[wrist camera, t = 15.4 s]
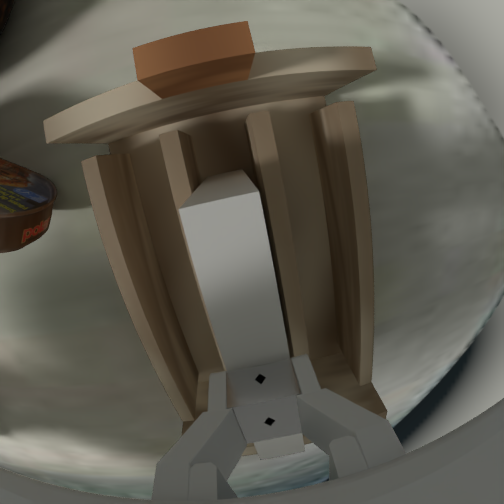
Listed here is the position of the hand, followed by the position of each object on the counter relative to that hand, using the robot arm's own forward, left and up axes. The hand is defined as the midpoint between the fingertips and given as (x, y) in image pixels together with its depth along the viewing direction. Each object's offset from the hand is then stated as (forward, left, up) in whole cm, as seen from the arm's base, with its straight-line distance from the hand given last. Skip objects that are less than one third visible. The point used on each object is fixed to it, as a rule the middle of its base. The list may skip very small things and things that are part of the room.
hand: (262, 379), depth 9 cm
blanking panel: (0, 0, -10) cm, 10 cm away
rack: (0, 0, -12) cm, 12 cm away
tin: (-17, +10, -12) cm, 23 cm away
